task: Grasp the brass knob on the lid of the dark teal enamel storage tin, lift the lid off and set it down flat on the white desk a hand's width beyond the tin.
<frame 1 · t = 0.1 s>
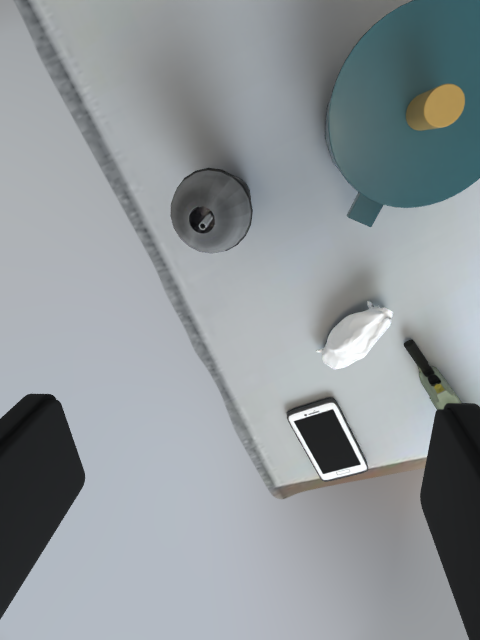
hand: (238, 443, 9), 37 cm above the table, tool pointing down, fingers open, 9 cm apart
tin: (393, 120, 37), on the table
tin lid: (420, 112, 29), point 9 cm above the table, touching tin
handheld radio: (449, 402, 51), on the table
cell phone: (327, 438, 56), on the table
bird figurine: (351, 331, 48), on the table
beverage cup: (231, 196, 43), on the table
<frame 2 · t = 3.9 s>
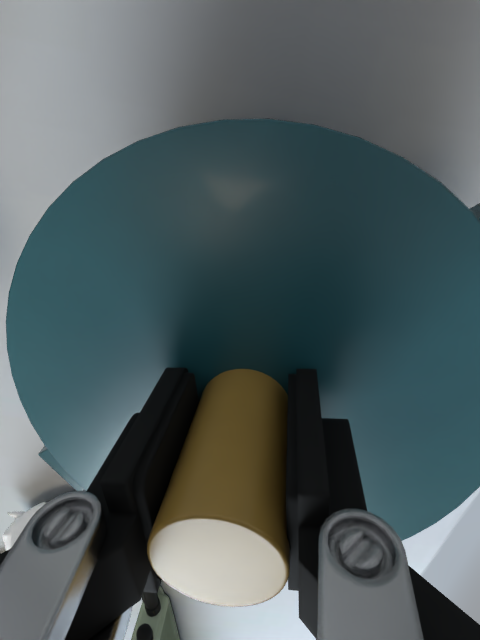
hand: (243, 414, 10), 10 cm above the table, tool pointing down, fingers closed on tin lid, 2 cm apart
tin: (266, 290, 19), on the table
tin lid: (247, 393, 11), point 9 cm above the table, touching gripper, tin
handheld radio: (170, 631, 36), on the table
bird figurine: (79, 508, 29), on the table
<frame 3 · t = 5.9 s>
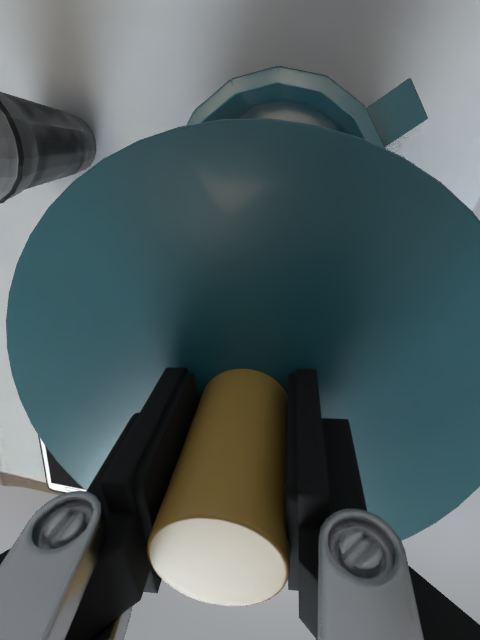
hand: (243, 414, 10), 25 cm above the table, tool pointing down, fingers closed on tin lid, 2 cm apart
tin: (279, 184, 31), on the table
tin lid: (248, 393, 11), point 24 cm above the table, touching gripper
cell phone: (73, 452, 49), on the table
beverage cup: (72, 143, 32), on the table
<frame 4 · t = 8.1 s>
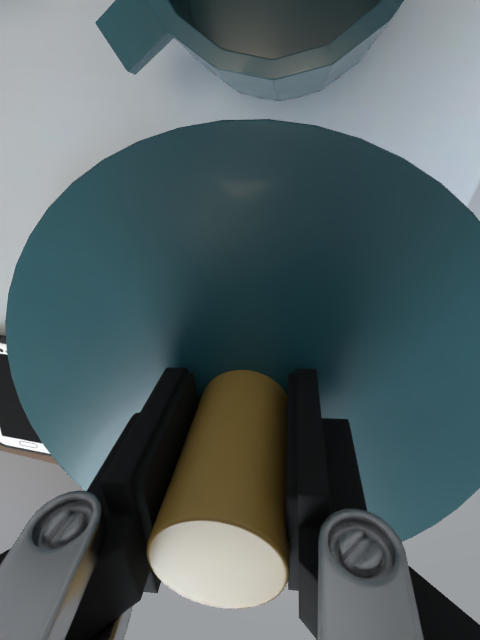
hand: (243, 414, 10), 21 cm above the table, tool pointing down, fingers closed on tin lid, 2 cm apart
tin lid: (247, 394, 11), point 20 cm above the table, touching gripper
cell phone: (27, 395, 40), on the table
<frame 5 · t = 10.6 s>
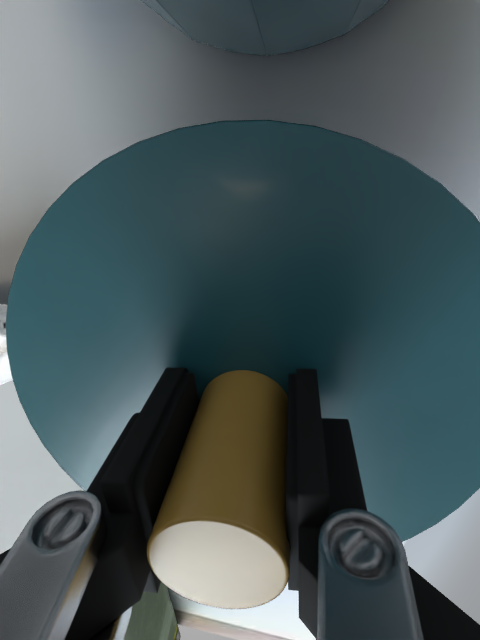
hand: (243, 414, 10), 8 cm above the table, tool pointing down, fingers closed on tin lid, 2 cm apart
tin lid: (247, 394, 11), point 7 cm above the table, touching gripper
handheld radio: (143, 534, 27), on the table
bird figurine: (6, 333, 21), on the table
when the fingers open (2 cm above the table, at t = 12.4 s): tin lid stays where it is, point 1 cm above the table.
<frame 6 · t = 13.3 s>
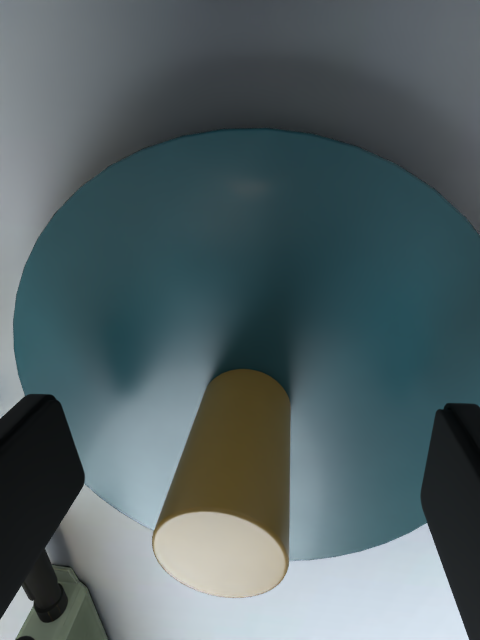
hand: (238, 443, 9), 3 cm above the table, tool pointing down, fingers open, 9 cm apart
tin lid: (248, 392, 11), point 1 cm above the table
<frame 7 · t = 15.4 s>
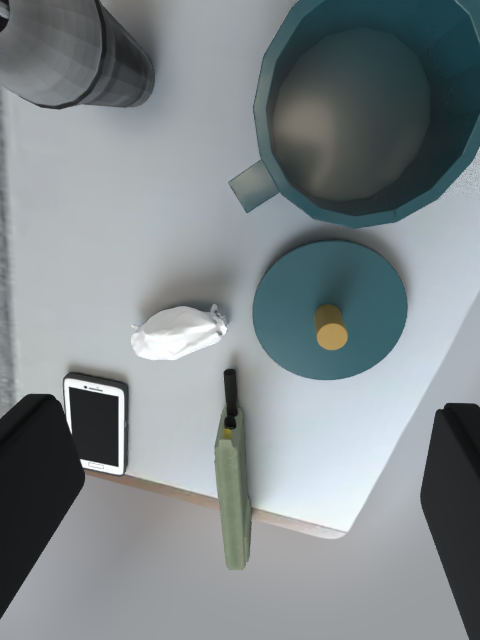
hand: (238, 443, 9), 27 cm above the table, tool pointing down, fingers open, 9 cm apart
tin: (348, 122, 29), on the table
tin lid: (326, 314, 36), point 1 cm above the table
handheld radio: (237, 450, 45), on the table
cell phone: (99, 423, 46), on the table
bird figurine: (183, 326, 39), on the table
beverage cup: (129, 76, 30), on the table
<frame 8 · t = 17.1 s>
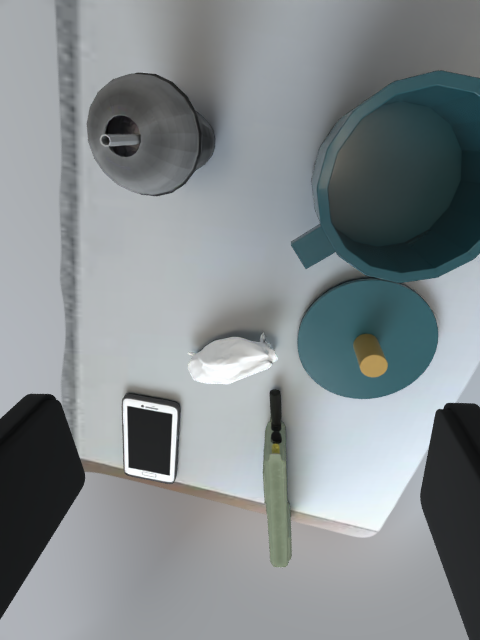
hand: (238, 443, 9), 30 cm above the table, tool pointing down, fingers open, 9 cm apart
tin: (387, 179, 33), on the table
tin lid: (364, 341, 40), point 1 cm above the table
handheld radio: (278, 459, 50), on the table
cell phone: (152, 437, 51), on the table
bird figurine: (232, 352, 44), on the table
beverage cup: (192, 141, 34), on the table
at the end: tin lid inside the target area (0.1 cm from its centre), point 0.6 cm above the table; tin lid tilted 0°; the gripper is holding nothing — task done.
